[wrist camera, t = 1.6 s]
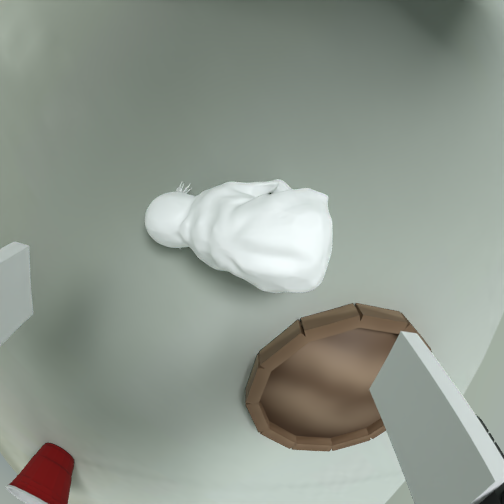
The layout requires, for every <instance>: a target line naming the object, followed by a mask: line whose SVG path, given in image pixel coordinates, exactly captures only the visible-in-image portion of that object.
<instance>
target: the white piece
mask: <svg viewBox="0 0 504 504" xmlns="http://www.w3.org/2000/svg"><path fill="white" fill-rule="evenodd" d="M182 182H183V181H182ZM182 182H181V184H180V186H178V187H179V189H178V187H177V190H176V192H168V193H164V194H162V195H160V196H158V197H156V198H155V199H154V200H153V201H152V202H151V203H150V205H149V206H148V208H147V211H146V214H145V226H146V229H147V232H148V233H149V235H150V236H151V237H152V238H153V239H154V240H155V241H156V242H157V243H159V244H161V245H164V246H167V247H171V248H179V249H180V248H181V247H182V248H183V247H190V248H191V249H192V250H193V251H194V253H195V254H196V256H197V257H198V258H199V259H200V260H202V261H203V262H205V263H206V264H207V265H209V266H210V267H212V268H214V269H216V270H219V271H229V272H230V273H232V274H233V275H235V276H237V277H240V278H242V279H244V280H246V281H248V282H249V283H251V284H252V285H254V286H255V287H257V288H258V289H260V290H262V291H265V292H272V293H283V292H291V293H305V292H309V291H312V290H314V289H315V288H317V287H318V286H319V285H320V284H321V282H322V281H323V279H324V276H325V273H326V270H327V267H328V263H329V260H330V257H331V252H332V242H333V235H332V229H333V224H332V219H331V216H330V214H329V210H328V196H327V195H326V194H324V193H321V192H317V191H315V190H313V189H310V188H300V189H291V188H290V187H289V186H288V185H287V183H285V182H284V181H282V180H280V179H275V180H272V181H266V182H250V183H244V182H234V181H231V182H226V183H223V184H221V185H218V186H215V187H213V188H211V189H207V190H204V191H203V192H201V193H200V194H199V195H197V196H193V195H189V194H187V193H188V192H189V191H190V190H191V189H192V188H191V189H188V187H189V186H190V184H189V185H188V186H187V188H186V189H185V190H184V191H183V192H182V189H183V186H184V184H183V185H182ZM184 183H185V182H184ZM181 185H182V187H181ZM180 188H181V189H180ZM187 189H188V191H187V192H186V190H187ZM270 192H272V194H268V193H270ZM180 251H181V249H180Z"/></svg>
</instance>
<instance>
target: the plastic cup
mask: <svg viewBox="0 0 504 504" xmlns="http://www.w3.org/2000/svg"><path fill="white" fill-rule="evenodd" d="M73 467H74V459H73V458H72V457H71V455H70V454H68V453H67V452H66V451H65V450H63V449H62V448H60V447H58V446H56V445H54V444H51V443H45V445H43V446H42V447H41V449H40V450H39V451H38V452H37V453H36V454H35V455H34V456H33V457H32V459H31V460H30V461H29V462H28V464H27V465H26V466H25V467H24V469H23V470H22V471H21V473H20V474H19V475H17V477H16V478H15V479H14V480H13V481H12V482H11V483H10V484H8V485H7V486H6V489H7V490H8V491H9V492H10V493H12V494H13V495H14V496H15V497H17V498H18V499H19V500H21V501H22V502H24V503H26V504H68V497H69V491H70V485H71V479H72V478H71V476H72V472H73Z"/></svg>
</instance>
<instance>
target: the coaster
mask: <svg viewBox="0 0 504 504" xmlns="http://www.w3.org/2000/svg"><path fill="white" fill-rule="evenodd" d="M301 320H302V321H299V320H297V321H295V322H294V323H293V324H292V325H291V326H290V327H288V328H287V329H286V330H285V331H284V332H282V333H281V334H280V335H279V336H277V337H276V338H275V339H274V340H273V341H271V342H270V343H269V344H268V345H266V346H265V347H264V348H263V349H262V350H260V351H259V354H257V357H256V360H255V363H254V366H253V369H252V372H251V375H250V378H249V381H248V384H247V386H246V402H245V403H246V407H247V409H248V411H249V413H250V415H251V417H252V419H253V422H254V424H255V426H256V428H257V430H258V432H260V434H262V435H264V436H266V437H267V438H269V439H271V440H273V441H275V442H277V443H279V444H281V445H283V446H285V447H287V448H289V449H290V448H292V449H294V450H310V451H330V450H331V449H332V451H334V450H338V449H342V448H345V447H349V446H352V445H356V444H359V443H362V442H366V441H369V440H370V438H372V439H374V438H375V437H377V436H378V435H380V434H381V433H383V432H384V431H386V428H385V426H384V423H383V421H382V419H381V416H380V414H379V411H378V409H377V407H376V404H375V402H374V399H373V397H372V395H371V392H370V390H369V389H370V387H371V385H372V383H373V382H374V380H375V378H376V377H377V375H378V373H379V371H380V370H381V368H382V366H383V364H384V362H385V360H386V359H387V357H388V355H389V353H390V351H391V349H392V347H393V345H394V343H395V342H396V340H397V338H398V336H399V334H400V332H401V331H404V332H411V333H417V334H418V335H419V337H420V338H421V339H422V341H423V342H424V343H425V344H426V346H427V347H428V348H429V350H430V351H431V349H430V347H429V346H428V344H427V343H426V342H425V340H424V339H423V338H422V337H421V335H420V334H419V333H418V332H417V330H416V329H415V328H414V327H413V326H412V324H411V323H410V322H409V321H408V320H407V318H406V317H405V316H404V315H403V314H402V313H400V312H399V311H394V310H389V309H384V308H379V307H374V306H368V305H363V304H358V303H356V305H355V306H354V304H353V303H352V304H349V305H345V306H342V307H339V308H335V309H332V310H328V311H324V312H321V313H317V314H314V315H310V316H306V317H303V318H301ZM431 352H432V351H431Z"/></svg>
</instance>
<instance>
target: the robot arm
mask: <svg viewBox="0 0 504 504" xmlns="http://www.w3.org/2000/svg"><path fill="white" fill-rule="evenodd" d="M33 314H34V312H33V302H32V291H31V276H30V250H29V245H25V244H22V243H19V242H16V241H14V242H12V243H10V244H8V245H6V246H4V247H3V248H1V249H0V346H1V345H2V344H3V343H4V342H5V341H6V340H7V339H8V338H9V337H10V336H11V335H12V334H13V333H14V332H15V331H16V330H17V329H18V328H19V327H20V326H21V325H22V324H23V323H24V322H25V321H26V320H27V319H28V318H29V317H30V316H32V315H33ZM369 390H370V392H371V395H372V397H373V399H374V402H375V404H376V407H377V409H378V411H379V414H380V416H381V419H382V421H383V423H384V426H385V428H386V431H387V433H388V436H389V438H390V441H391V443H392V446H393V448H394V451H395V453H396V456H397V458H398V461H399V464H400V466H401V469H402V471H403V474H404V477H405V479H406V482H407V485H408V488H409V490H410V493H411V496H412V498H413V501H414V504H504V455H503V453H502V451H501V450H500V448H499V446H498V445H497V443H496V442H495V443H494V439H493V437H492V435H491V434H490V433H488V429H487V428H486V426H485V424H484V423H483V421H482V420H481V419H480V418H479V417H478V416H477V415H476V414H475V413H474V412H473V410H472V409H471V407H470V406H469V404H468V403H467V401H466V400H465V398H464V397H463V395H462V394H461V393H460V391H459V390H458V388H457V387H456V385H455V384H454V383H453V381H452V380H451V378H450V377H449V376H448V374H447V373H446V371H445V370H444V369H443V367H442V366H441V365H440V363H439V362H438V360H437V359H436V358H435V356H434V355H433V354H432V352H431V351H430V350H429V348H428V347H427V346H426V344H425V343H424V342H423V341H422V339H421V338H420V337H419V335H418V334H417V333H411V332H404V331H401V332H400V334H399V336H398V338H397V340H396V342H395V343H394V345H393V347H392V349H391V351H390V353H389V355H388V357H387V359H386V360H385V362H384V364H383V366H382V368H381V370H380V371H379V373H378V375H377V377H376V378H375V380H374V382H373V383H372V385H371V387H370V389H369Z"/></svg>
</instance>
